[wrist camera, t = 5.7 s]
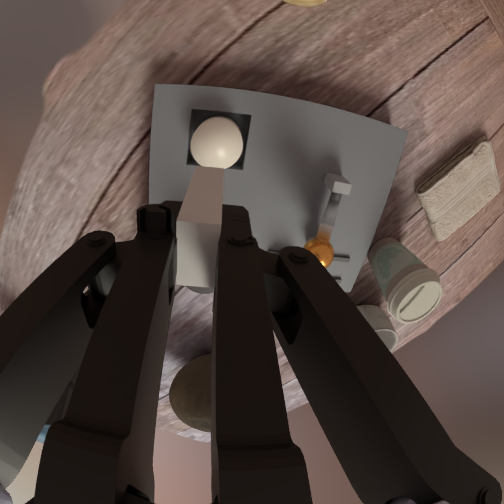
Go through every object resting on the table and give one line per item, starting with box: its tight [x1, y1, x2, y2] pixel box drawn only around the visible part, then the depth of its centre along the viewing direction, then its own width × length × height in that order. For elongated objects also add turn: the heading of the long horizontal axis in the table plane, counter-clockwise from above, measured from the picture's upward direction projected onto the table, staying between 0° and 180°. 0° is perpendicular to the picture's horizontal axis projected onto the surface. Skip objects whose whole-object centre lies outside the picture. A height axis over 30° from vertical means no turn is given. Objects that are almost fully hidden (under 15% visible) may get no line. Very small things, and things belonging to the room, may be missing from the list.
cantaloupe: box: [169, 353, 212, 432], centre depth 47 cm, size 14×14×15 cm
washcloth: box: [416, 136, 500, 241], centre depth 35 cm, size 12×18×3 cm, turn 131°
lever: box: [303, 191, 342, 268], centre depth 27 cm, size 3×6×10 cm, turn 172°
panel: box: [149, 84, 408, 292], centre depth 32 cm, size 28×24×7 cm
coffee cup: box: [368, 237, 442, 324], centre depth 36 cm, size 8×9×12 cm
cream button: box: [190, 115, 243, 169], centre depth 27 cm, size 5×5×6 cm
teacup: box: [356, 305, 398, 352], centre depth 45 cm, size 14×11×8 cm
